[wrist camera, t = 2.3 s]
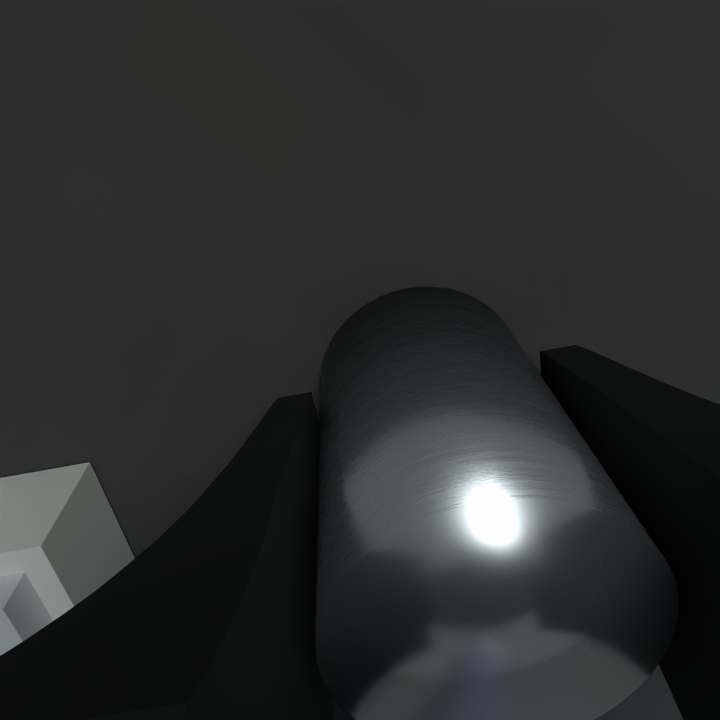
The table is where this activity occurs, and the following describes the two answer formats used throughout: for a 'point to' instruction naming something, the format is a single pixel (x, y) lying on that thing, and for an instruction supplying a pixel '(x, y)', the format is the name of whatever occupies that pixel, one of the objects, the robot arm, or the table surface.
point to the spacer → (471, 530)
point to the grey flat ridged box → (53, 547)
